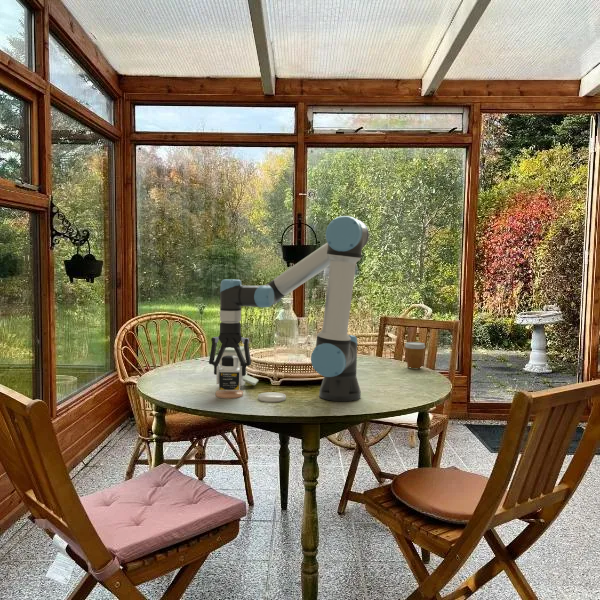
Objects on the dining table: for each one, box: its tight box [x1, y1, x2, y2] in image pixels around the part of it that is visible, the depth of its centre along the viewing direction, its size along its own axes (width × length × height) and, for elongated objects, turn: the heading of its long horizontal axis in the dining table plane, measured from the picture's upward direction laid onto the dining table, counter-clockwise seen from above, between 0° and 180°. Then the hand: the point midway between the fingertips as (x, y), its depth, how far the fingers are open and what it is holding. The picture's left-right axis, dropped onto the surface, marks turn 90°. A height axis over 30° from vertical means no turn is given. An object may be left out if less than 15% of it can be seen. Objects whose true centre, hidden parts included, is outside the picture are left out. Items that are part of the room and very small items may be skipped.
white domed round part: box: [257, 391, 287, 403], centre depth 199 cm, size 10×10×1 cm
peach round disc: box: [215, 389, 244, 400], centre depth 203 cm, size 10×10×1 cm
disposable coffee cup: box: [404, 341, 426, 368], centre depth 264 cm, size 10×10×12 cm
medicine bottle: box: [218, 356, 241, 391], centre depth 202 cm, size 7×7×12 cm
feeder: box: [218, 345, 259, 390], centre depth 218 cm, size 14×10×15 cm
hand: (229, 384), depth 203 cm, fingers closed on medicine bottle, 8 cm apart
